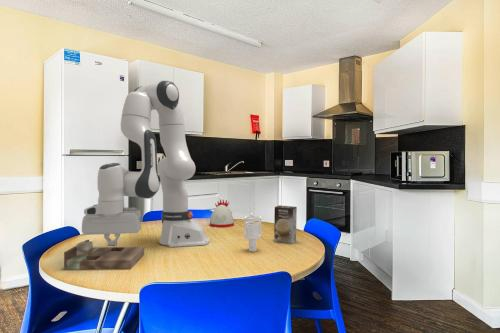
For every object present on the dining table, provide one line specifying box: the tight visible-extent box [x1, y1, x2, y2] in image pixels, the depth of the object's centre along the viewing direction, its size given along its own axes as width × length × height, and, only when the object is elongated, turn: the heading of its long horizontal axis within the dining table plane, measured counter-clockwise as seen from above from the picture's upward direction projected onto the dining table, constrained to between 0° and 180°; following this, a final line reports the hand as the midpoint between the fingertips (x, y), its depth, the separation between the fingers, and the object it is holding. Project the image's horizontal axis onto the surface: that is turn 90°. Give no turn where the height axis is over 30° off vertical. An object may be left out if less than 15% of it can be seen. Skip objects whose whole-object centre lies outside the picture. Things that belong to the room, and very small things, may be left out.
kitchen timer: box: [209, 199, 235, 229], centre depth 195 cm, size 14×14×15 cm
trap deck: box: [63, 239, 145, 271], centre depth 124 cm, size 22×18×6 cm
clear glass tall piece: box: [243, 212, 262, 252], centre depth 140 cm, size 7×7×15 cm
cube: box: [75, 241, 93, 255], centre depth 123 cm, size 4×4×4 cm
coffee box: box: [273, 205, 298, 245], centre depth 156 cm, size 9×6×16 cm
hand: (112, 245), depth 124 cm, fingers closed
